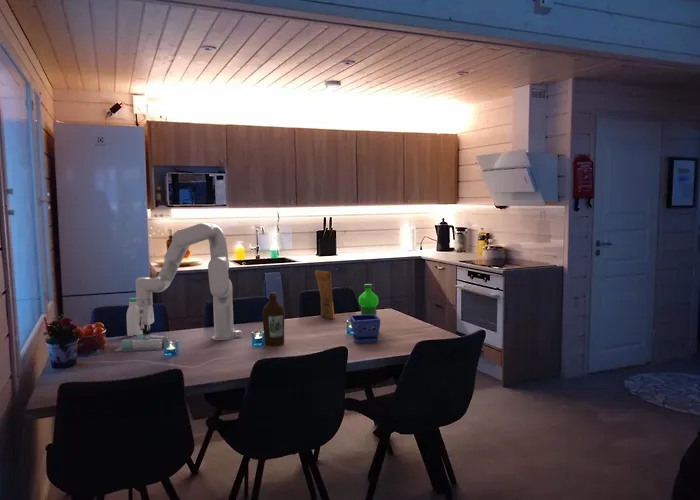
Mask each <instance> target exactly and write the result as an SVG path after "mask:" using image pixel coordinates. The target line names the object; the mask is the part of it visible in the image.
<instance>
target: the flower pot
mask: <svg viewBox="0 0 700 500" xmlns="http://www.w3.org/2000/svg"><path fill="white" fill-rule="evenodd" d="M349 321H350V327H351V329H352V332H353V334H351V337H352V338H353V340H354V341H355V343H356V344H359V345H360V344H362V345H363V344H374V343H378V341H379V340H380V339H379V337H378V335H379V332H380V329H381V327H380V326H381V319H380V317H379V316H378V315H377V314H376V315H375V314H365V315H361V314H352V315H350V316H349ZM363 327H364V328H363Z"/></svg>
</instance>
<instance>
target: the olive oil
mask: <svg viewBox="0 0 700 500" xmlns="http://www.w3.org/2000/svg"><path fill="white" fill-rule="evenodd" d="M268 297H269V301H267V303H266V304H265V305H264V307H263V308H262V312H261V315H262V327H263V339H264V345H265V346H266V347H278V346H283V345H285V308H284V306H283V305H281V304H280V302H279V301H278V300H277V292H275V291H274V292H269V296H268Z"/></svg>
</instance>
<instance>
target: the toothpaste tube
mask: <svg viewBox="0 0 700 500" xmlns="http://www.w3.org/2000/svg"><path fill="white" fill-rule="evenodd" d="M136 336H137V340H143V339H162V342H163V337H168V341H169V340H170V336H166V335H165V336H164V335H157V334H156V335H155V334H154V335H153V334H150V335H149V334H138V335H136ZM163 346H164V342H163Z"/></svg>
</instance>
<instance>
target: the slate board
mask: <svg viewBox="0 0 700 500" xmlns="http://www.w3.org/2000/svg"><path fill="white" fill-rule="evenodd" d="M173 340H178V343H179V342H180V341H181V340H182V338H177V339H176V338H175V339H173ZM161 350H164V346H163V349H131V350H122V345H121V346H120V347H118V348H116V349H114V352H130V351H131V352H133V351H135V352H136V351H161Z"/></svg>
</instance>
